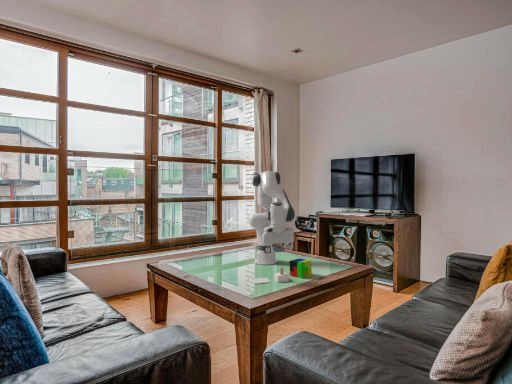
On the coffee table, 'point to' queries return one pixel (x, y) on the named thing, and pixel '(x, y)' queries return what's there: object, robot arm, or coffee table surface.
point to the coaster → (260, 280)
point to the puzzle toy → (300, 268)
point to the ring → (279, 249)
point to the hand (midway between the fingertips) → (278, 250)
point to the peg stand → (281, 276)
